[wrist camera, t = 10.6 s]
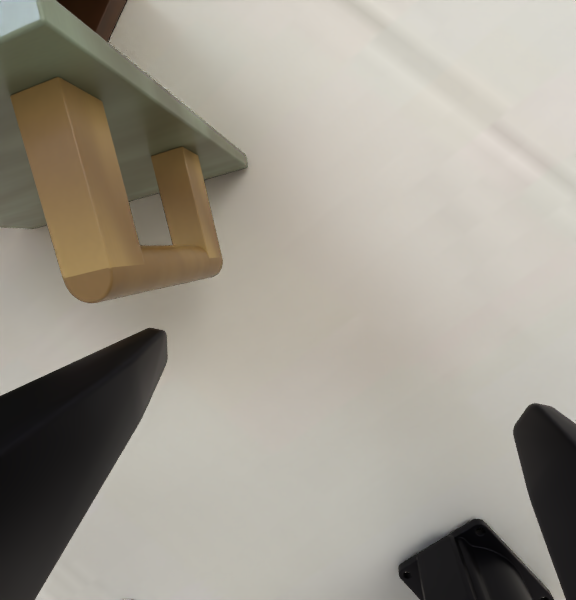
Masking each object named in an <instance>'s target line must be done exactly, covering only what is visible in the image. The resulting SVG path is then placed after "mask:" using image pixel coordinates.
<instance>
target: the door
mask: <svg viewBox="0 0 576 600" xmlns="http://www.w3.org/2000/svg"><path fill="white" fill-rule="evenodd" d="M247 167H248V164H247V159H246V155H245V154H244V153H243V152H242V151H241V150H239V149H238V148H237V147H236V146H235V145H233V144H232V143H231V142H230V141H228V140H227V139H226V138H225V137H223V136H222V135H221V134H220V133H219V132H217V131H216V130H215V129H214V128H212V127H211V126H210V125H209V124H207V123H206V122H205V121H204V120H203V119H201V118H200V117H199V116H198V115H196V114H195V113H194V112H193V111H191V110H190V109H189V108H188V107H187V106H185V105H184V104H183V103H182V102H180V101H179V100H178V99H177V98H175V97H174V96H173V95H172V94H171V93H169V92H168V91H167V90H166V89H164V88H163V87H162V86H161V85H159V84H158V83H157V82H156V81H155V80H153V79H152V78H151V77H150V76H148V75H147V74H146V73H145V72H143V71H142V70H141V69H140V68H139V67H137V66H136V65H135V64H134V63H132V62H131V61H130V60H129V59H127V58H126V57H125V56H124V55H122V54H121V53H120V52H119V51H118V50H116V49H115V48H114V47H113V46H111V45H110V44H109V43H108V42H106V41H105V40H104V39H103V38H102V37H100V36H99V35H98V34H97V33H95V32H94V31H93V30H92V29H90V28H89V27H88V26H87V25H86V24H84V23H83V22H82V21H81V20H79V19H78V18H77V17H76V16H74V15H73V14H72V13H71V12H70V11H68V10H67V9H66V8H65V7H63V6H62V5H61V4H60V3H58V2H57V1H56V0H0V227H2V228H23V229H34V228H38V227H41V226H45V225H47V226H48V229H49V233H50V236H51V240H52V243H53V246H54V250H55V253H56V257H57V260H58V264H59V267H60V271H61V274H62V277H63V280H64V282H65V285H66V287H67V289H68V290H69V292H70V293H71V294H72V295H73V296H74V297H75V298H77V299H78V300H80V301H83V302H86V303H97V302H102V301H106V300H111V299H116V298H120V297H125V296H129V295H134V294H138V293H143V292H147V291H152V290H156V289H161V288H165V287H170V286H174V285H179V284H183V283H188V282H192V281H197V280H201V279H206V278H210V277H214V276H216V275H217V274H218V273H219V272H220V270H221V268H222V264H223V260H222V255H221V251H220V246H219V242H218V238H217V234H216V229H215V225H214V221H213V217H212V213H211V208H210V204H209V200H208V196H207V191H206V187H205V183H204V180H205V179H209V178H212V177H216V176H219V175H223V174H226V173H230V172H233V171H237V170H240V169H244V168H247ZM156 193H160V196H161V200H162V204H163V208H164V212H165V216H166V220H167V224H168V228H169V232H170V236H171V240H172V244H173V245H140V244H139V240H138V236H137V232H136V228H135V225H134V221H133V217H132V213H131V209H130V206H129V201H132V200H136V199H139V198H143V197H146V196H149V195H153V194H156Z"/></svg>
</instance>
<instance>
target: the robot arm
mask: <svg viewBox="0 0 576 600" xmlns="http://www.w3.org/2000/svg"><path fill="white" fill-rule="evenodd" d="M167 356H168V355H167V335H166V332H165V331H163V330H159V329H154V328H147V329H145V330H143V331H141V332H138V333H136V334H134V335H132V336H130V337H128V338H125V339H123V340H121V341H119V342H117V343H115V344H112V345H110V346H108V347H106V348H104V349H101V350H99V351H97V352H95V353H93V354H91V355H88V356H86V357H84V358H82V359H80V360H78V361H75V362H73V363H71V364H69V365H67V366H65V367H62V368H60V369H58V370H56V371H54V372H51V373H49V374H47V375H45V376H43V377H41V378H38V379H36V380H34V381H32V382H30V383H28V384H25V385H23V386H21V387H19V388H17V389H15V390H12V391H10V392H8V393H6V394H4V395H1V396H0V600H35V598H36V597H37V595H38V593H39V592H40V590H41V588H42V587H43V585H44V583H45V582H46V580H47V578H48V576H49V575H50V573H51V571H52V570H53V568H54V566H55V565H56V563H57V561H58V560H59V558H60V556H61V554H62V553H63V551H64V549H65V548H66V546H67V544H68V543H69V541H70V539H71V538H72V536H73V534H74V532H75V531H76V529H77V527H78V526H79V524H80V522H81V521H82V519H83V517H84V516H85V514H86V512H87V511H88V509H89V507H90V505H91V504H92V502H93V500H94V499H95V497H96V495H97V494H98V492H99V490H100V489H101V487H102V485H103V483H104V482H105V480H106V478H107V477H108V475H109V473H110V472H111V470H112V468H113V467H114V465H115V463H116V461H117V460H118V458H119V456H120V455H121V453H122V451H123V450H124V448H125V446H126V445H127V443H128V441H129V440H130V438H131V436H132V434H133V433H134V431H135V429H136V428H137V426H138V424H139V422H140V420H141V419H142V417H143V414H144V412H145V410H146V408H147V406H148V404H149V401H150V399H151V397H152V395H153V392H154V390H155V388H156V386H157V384H158V381H159V379H160V377H161V375H162V372H163V370H164V368H165V366H166V363H167ZM513 435H514V439H515V443H516V447H517V451H518V455H519V459H520V463H521V467H522V471H523V475H524V479H525V483H526V487H527V490H528V494H529V497H530V500H531V503H532V506H533V509H534V512H535V515H536V518H537V520H538V523H539V526H540V529H541V532H542V534H543V537H544V540H545V543H546V545H547V548H548V551H549V554H550V556H551V559H552V562H553V565H554V568H555V570H556V573H557V576H558V579H559V581H560V584H561V587H562V590H563V592H564V595H565V598H566V600H576V424H575V423H574V422H572V421H571V420H570V419H568V418H567V417H565V416H564V415H563V414H561V413H560V412H559V411H557V410H556V409H555V408H553V407H551V406H547V405H542V404H537V403H534V404H531V405H529V406H528V407H527V408H526V410H525V411H524V413H523V414H522V415H521V417H520V418H519V420H518V421H517V423H516V424H515V426H514V430H513ZM477 528H482V529H481V530H476V529H477ZM398 569H399V576H400V578H401V579H402V580H403V581H404V583H405V584H406V585H407V586H408V587H409V588H410V589H411V590H412V591H413V592H414V593H415V594H416V595H417V597H418V598H419V599H420V600H554V599H553V597H552V595H551V593H550V592H549V590H548V589H547V588H546V587H545V586H544V585H543V584H542V583H541V582H540V580H539V579H538V578H537V577H536V576H535V575H534V574H533V573H532V572H531V571H530V570H529V569H528V568H527V567H526V566H525V564H524V563H523V562H522V561H521V560H520V559H519V558H518V557H517V556H516V555H515V554H514V553H513V552H512V551H511V550H510V548H509V547H508V546H507V545H506V544H505V543H504V542H503V541H502V540H501V539H500V538H499V537H498V536H497V535H496V534H495V533H494V531H493V530H492V529H491V528H490V527H489V526H488V525H487V524H486V523H485V522H484V521H483V520H480V519H474V520H472V521H470V522H468V523H467V524H465V525H464V526H462V527H460V528H459V529H457V530H455V531H454V532H452V533H450V534H449V535H447V536H446V537H444V538H442V539H441V540H439V541H437V542H436V543H434V544H432V545H431V546H429V547H428V548H426V549H424V550H423V551H421V552H419V553H418V554H416V555H414V556H413V557H411V558H410V559H408V560H406V561H405V562H403V563H401V564H400V565H399V568H398ZM405 572H409V573H405ZM542 597H544V598H542Z"/></svg>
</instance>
